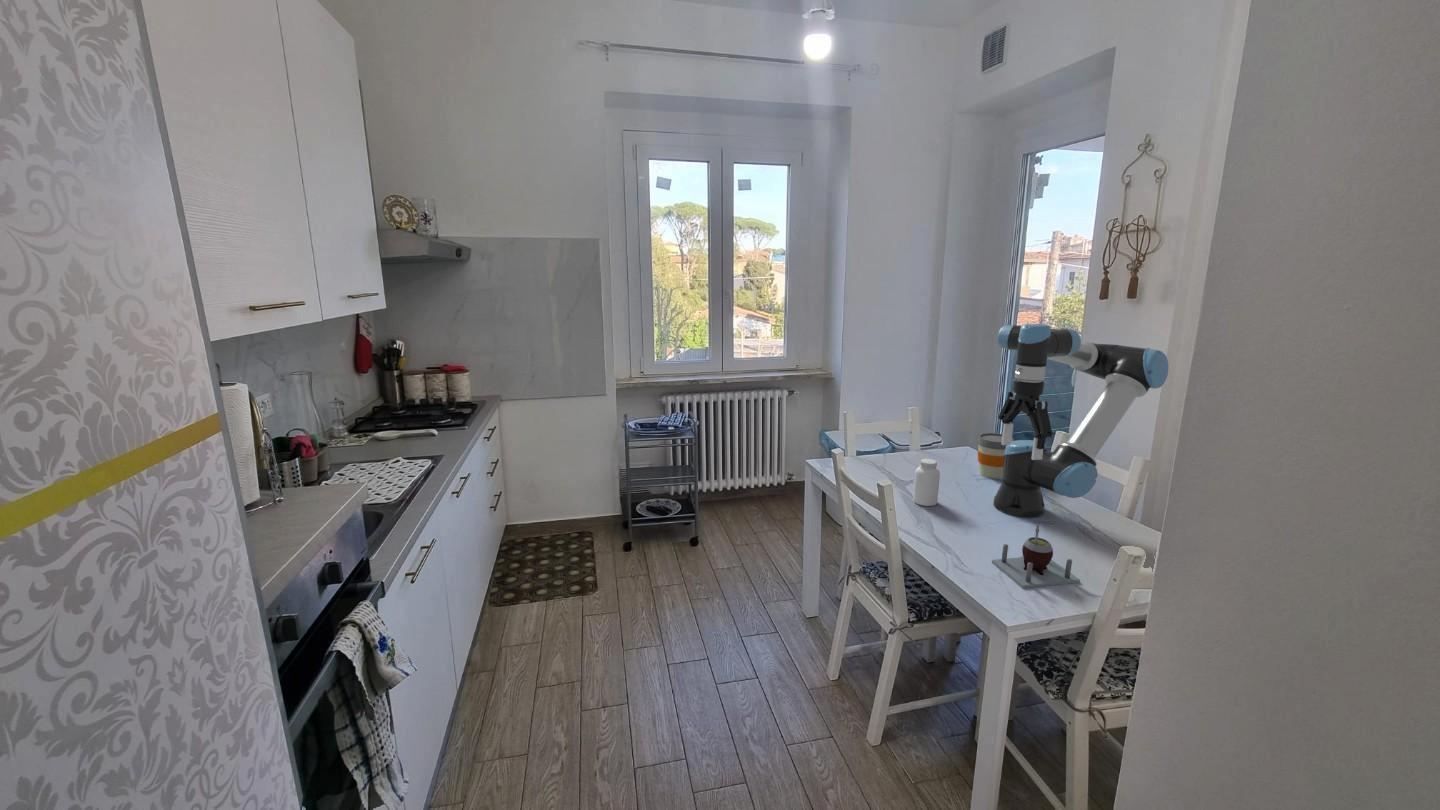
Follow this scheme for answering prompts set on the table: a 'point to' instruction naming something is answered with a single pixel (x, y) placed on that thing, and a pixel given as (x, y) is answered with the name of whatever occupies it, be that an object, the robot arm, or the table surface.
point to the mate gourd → (1037, 552)
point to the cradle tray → (1034, 572)
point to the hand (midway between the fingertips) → (1020, 451)
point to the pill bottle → (926, 483)
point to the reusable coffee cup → (991, 455)
